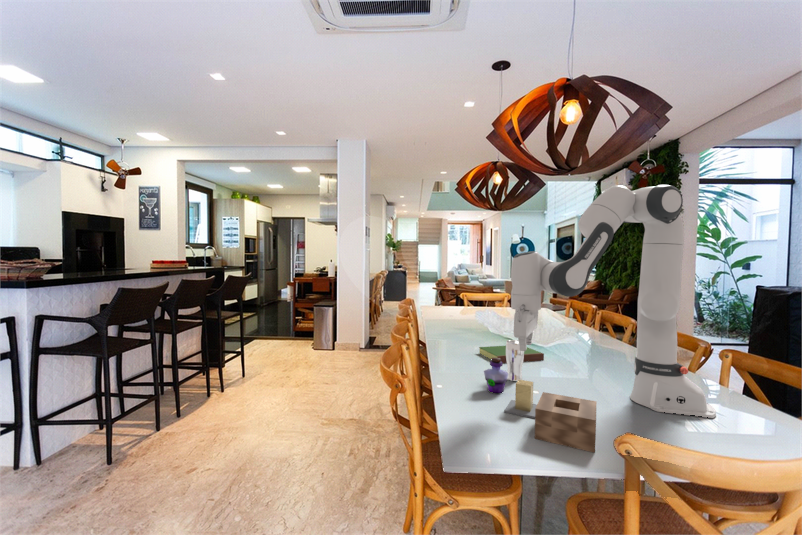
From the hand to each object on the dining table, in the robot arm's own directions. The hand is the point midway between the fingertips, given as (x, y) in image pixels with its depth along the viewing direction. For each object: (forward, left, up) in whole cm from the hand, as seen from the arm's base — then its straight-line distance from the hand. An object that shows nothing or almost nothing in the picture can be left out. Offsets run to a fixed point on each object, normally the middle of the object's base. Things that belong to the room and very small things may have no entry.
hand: (526, 347), depth 114 cm
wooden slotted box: (-13, +11, -20) cm, 26 cm away
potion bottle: (+12, -12, -20) cm, 26 cm away
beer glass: (+9, -29, -20) cm, 36 cm away
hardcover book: (+18, -64, -21) cm, 69 cm away
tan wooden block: (0, 0, -19) cm, 19 cm away
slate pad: (0, 0, -20) cm, 20 cm away
